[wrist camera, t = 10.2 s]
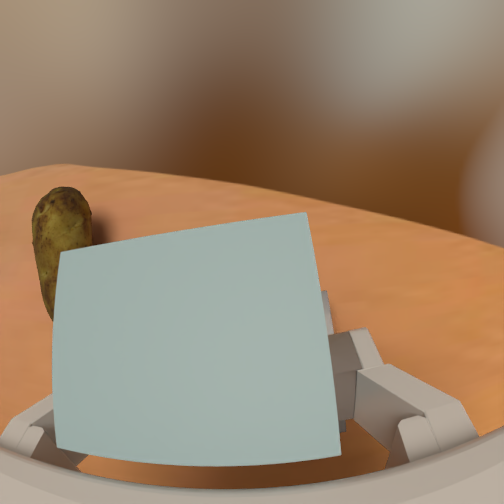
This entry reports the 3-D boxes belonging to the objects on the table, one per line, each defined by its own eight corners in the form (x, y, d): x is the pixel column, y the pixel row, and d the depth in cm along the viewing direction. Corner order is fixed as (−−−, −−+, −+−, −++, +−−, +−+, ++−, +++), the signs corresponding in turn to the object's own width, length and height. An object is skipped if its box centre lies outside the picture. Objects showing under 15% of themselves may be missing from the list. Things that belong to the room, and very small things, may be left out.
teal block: (308, 402, 16) (341, 454, 4) (216, 410, 16) (56, 447, 4) (299, 331, 17) (306, 212, 5) (211, 341, 18) (60, 252, 6)
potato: (40, 318, 29) (-12, 297, 21) (77, 212, 33) (37, 175, 26) (95, 340, 27) (39, 322, 20) (134, 219, 32) (95, 175, 24)
